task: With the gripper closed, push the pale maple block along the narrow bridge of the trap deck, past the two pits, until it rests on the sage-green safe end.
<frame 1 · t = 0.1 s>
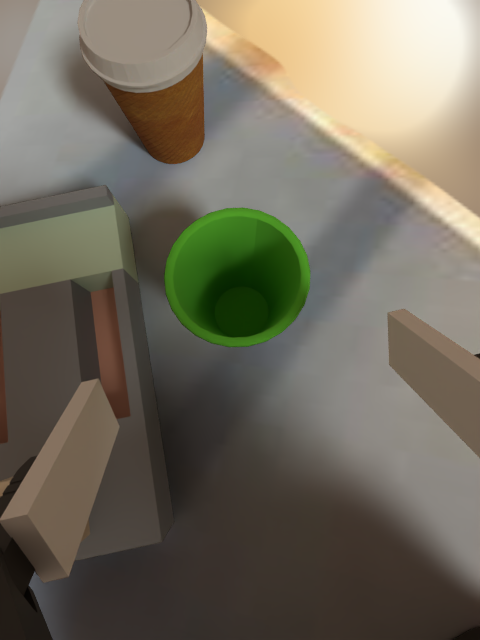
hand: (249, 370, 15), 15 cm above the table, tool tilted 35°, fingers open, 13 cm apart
trap deck: (68, 372, 31), on the table
cup: (241, 314, 32), on the table
disposable coffee cup: (175, 139, 36), on the table
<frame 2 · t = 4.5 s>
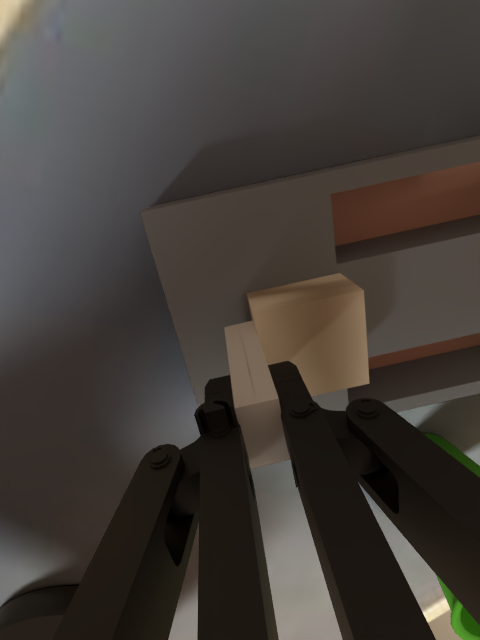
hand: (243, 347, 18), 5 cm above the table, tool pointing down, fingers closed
trap deck: (392, 277, 23), on the table
cup: (417, 454, 29), on the table
block: (299, 325, 19), point 4 cm above the table, touching trap deck
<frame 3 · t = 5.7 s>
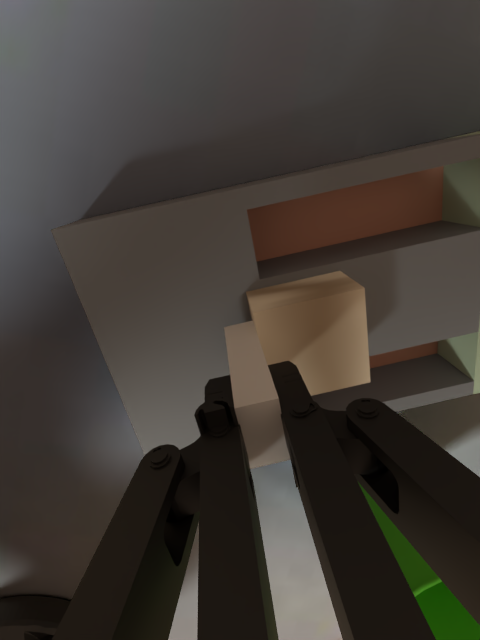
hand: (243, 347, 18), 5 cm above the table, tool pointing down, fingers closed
trap deck: (333, 289, 22), on the table
cup: (373, 464, 29), on the table
block: (299, 324, 19), point 4 cm above the table, touching trap deck
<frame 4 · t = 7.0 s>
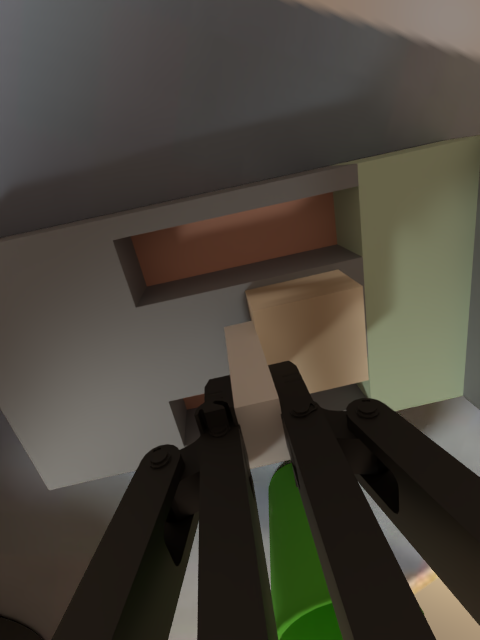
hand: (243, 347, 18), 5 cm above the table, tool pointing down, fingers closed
trap deck: (235, 311, 23), on the table
cup: (297, 480, 29), on the table
block: (298, 322, 19), point 4 cm above the table, touching gripper
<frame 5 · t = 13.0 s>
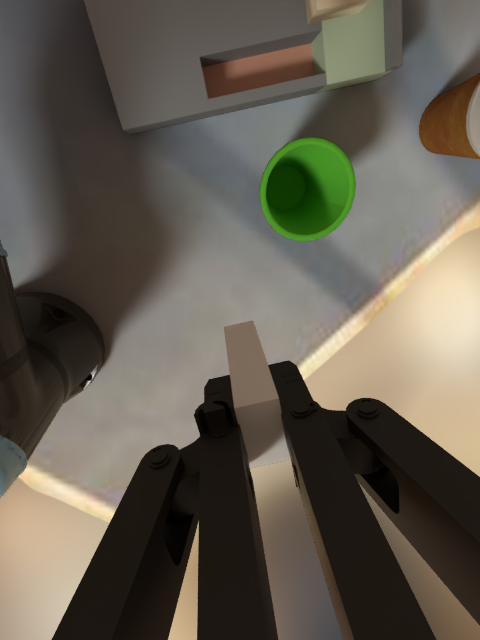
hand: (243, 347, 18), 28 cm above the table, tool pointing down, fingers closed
trap deck: (240, 23, 35), on the table
cup: (283, 188, 42), on the table
disposable coffee cup: (443, 124, 41), on the table
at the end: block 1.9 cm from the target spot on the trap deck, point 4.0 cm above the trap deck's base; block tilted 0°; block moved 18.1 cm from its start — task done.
